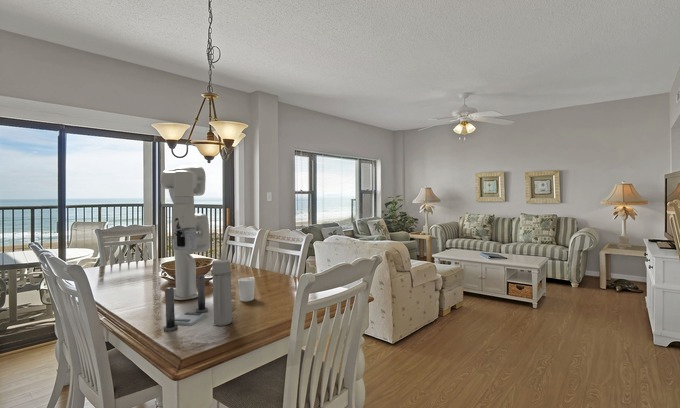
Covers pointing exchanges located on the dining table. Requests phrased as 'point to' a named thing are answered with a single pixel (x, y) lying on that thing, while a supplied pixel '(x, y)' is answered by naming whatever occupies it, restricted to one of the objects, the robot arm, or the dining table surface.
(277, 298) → the dining table surface
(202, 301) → the post
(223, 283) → the water bottle
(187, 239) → the medicine box
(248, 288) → the white cup
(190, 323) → the paddle plate
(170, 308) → the post
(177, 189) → the robot arm
